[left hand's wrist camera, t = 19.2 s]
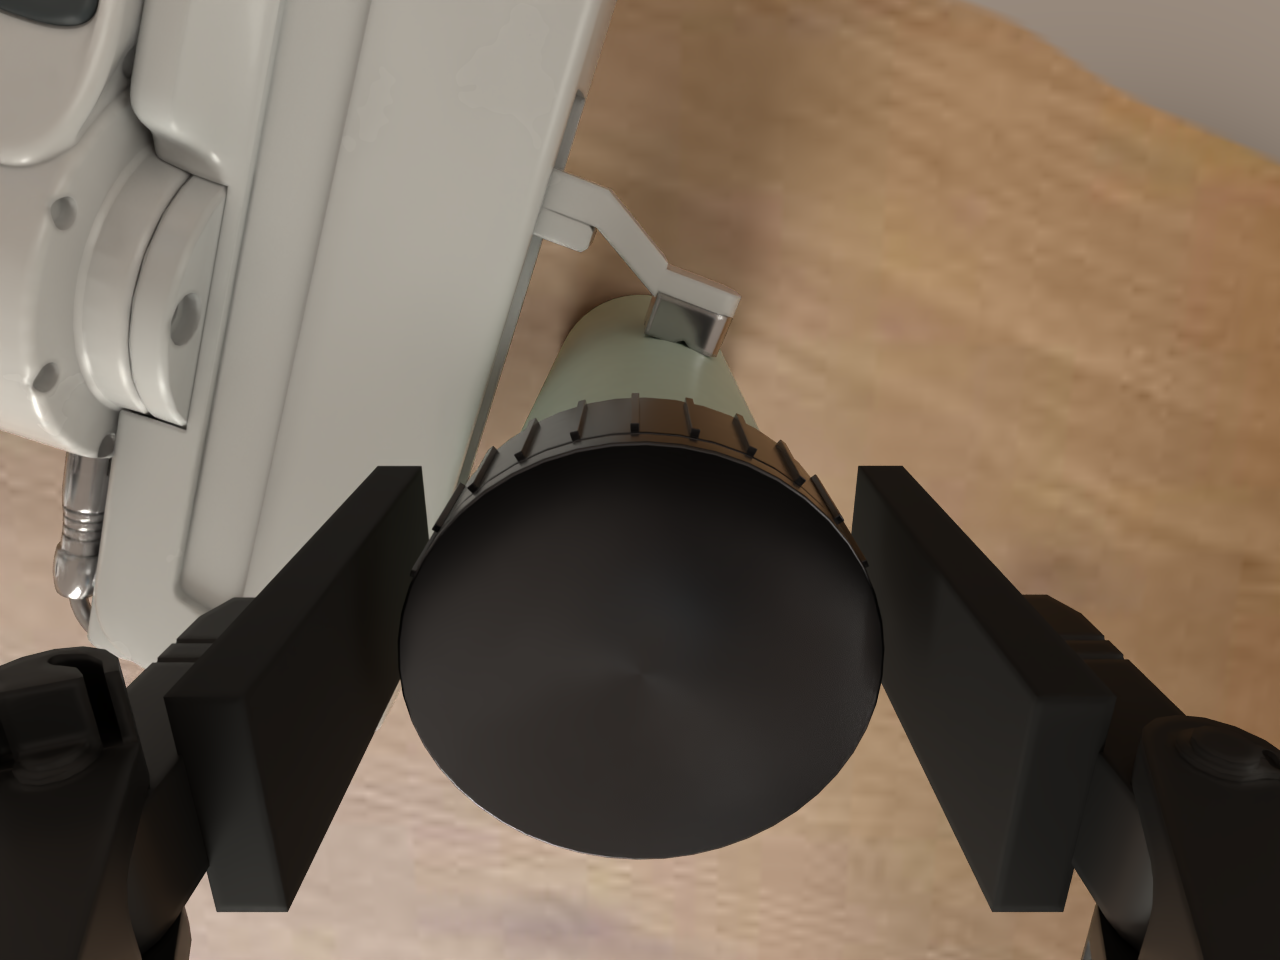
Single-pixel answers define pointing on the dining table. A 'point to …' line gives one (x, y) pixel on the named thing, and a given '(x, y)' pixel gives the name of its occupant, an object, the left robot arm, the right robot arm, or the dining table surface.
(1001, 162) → the dining table surface
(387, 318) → the right robot arm
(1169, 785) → the left robot arm
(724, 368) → the jar
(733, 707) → the lid
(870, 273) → the dining table surface
